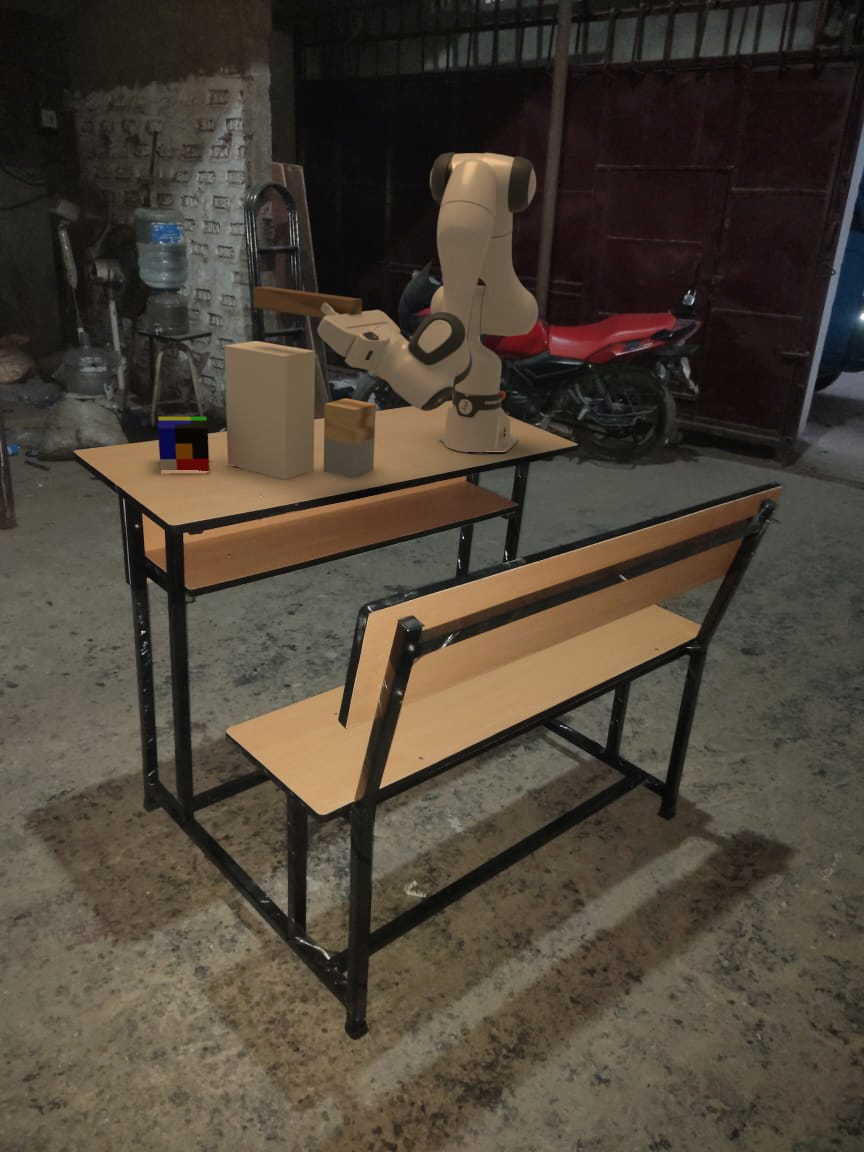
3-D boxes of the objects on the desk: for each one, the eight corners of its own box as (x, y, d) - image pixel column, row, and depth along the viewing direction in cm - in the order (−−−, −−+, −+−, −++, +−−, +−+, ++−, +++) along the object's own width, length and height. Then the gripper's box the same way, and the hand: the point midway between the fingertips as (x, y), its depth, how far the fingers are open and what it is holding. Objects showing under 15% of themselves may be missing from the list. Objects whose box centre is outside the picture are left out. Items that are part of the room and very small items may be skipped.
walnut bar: (266, 306, 180) (266, 286, 178) (361, 320, 170) (362, 299, 168) (253, 307, 177) (253, 287, 175) (349, 321, 166) (350, 300, 165)
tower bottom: (344, 463, 198) (344, 431, 195) (373, 469, 194) (374, 437, 191) (323, 470, 191) (324, 437, 188) (353, 477, 188) (354, 444, 185)
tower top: (344, 431, 195) (345, 398, 192) (374, 437, 191) (375, 404, 188) (324, 437, 188) (324, 403, 185) (354, 444, 185) (355, 410, 182)
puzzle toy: (160, 474, 181) (157, 428, 177) (161, 461, 190) (158, 416, 186) (209, 473, 184) (207, 428, 180) (207, 460, 193) (206, 416, 189)
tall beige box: (257, 456, 198) (255, 341, 188) (313, 469, 191) (315, 351, 181) (228, 465, 190) (224, 345, 180) (285, 479, 183) (285, 356, 173)
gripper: (416, 330, 174) (368, 288, 176) (359, 340, 157) (307, 293, 159) (401, 356, 177) (354, 314, 180) (344, 367, 161) (293, 321, 163)
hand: (332, 304), depth 169 cm, fingers closed on walnut bar, 4 cm apart
